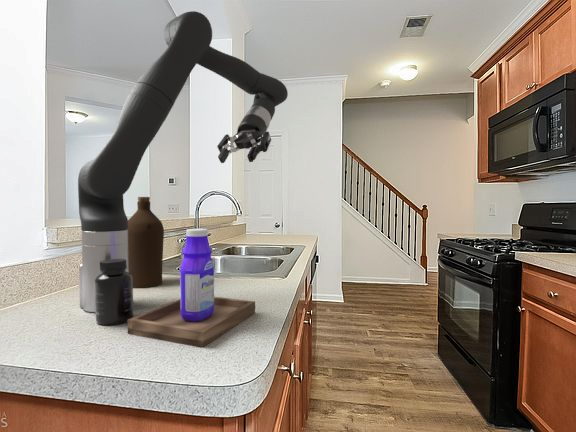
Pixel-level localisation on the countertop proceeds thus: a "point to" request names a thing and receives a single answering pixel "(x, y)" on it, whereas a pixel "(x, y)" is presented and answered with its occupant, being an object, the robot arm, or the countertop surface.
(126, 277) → the supplement bottle
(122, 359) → the countertop surface
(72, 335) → the countertop surface
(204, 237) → the bottle
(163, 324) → the walnut tray
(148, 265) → the olive oil
